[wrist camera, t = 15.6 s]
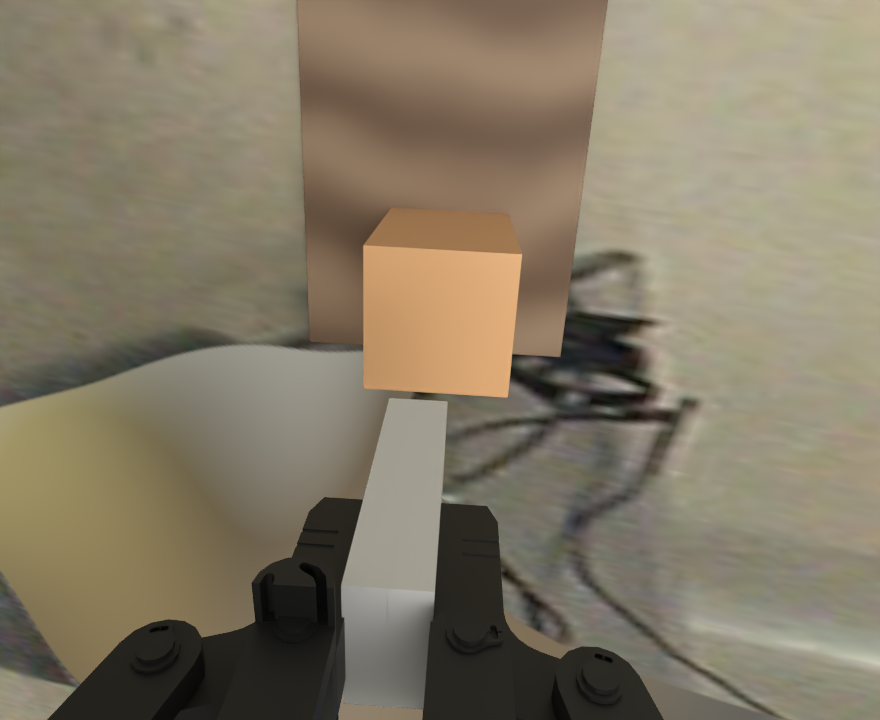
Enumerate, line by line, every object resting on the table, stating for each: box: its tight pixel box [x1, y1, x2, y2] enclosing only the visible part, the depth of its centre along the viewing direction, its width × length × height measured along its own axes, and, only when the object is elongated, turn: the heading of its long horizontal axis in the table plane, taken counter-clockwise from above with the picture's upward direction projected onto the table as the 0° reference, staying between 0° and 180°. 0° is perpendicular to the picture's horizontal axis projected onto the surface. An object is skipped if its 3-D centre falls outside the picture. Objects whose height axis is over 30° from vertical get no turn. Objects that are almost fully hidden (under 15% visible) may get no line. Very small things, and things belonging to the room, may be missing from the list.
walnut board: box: [297, 0, 608, 357], centre depth 32 cm, size 26×15×2 cm, turn 177°
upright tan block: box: [363, 208, 522, 397], centre depth 30 cm, size 6×6×10 cm
